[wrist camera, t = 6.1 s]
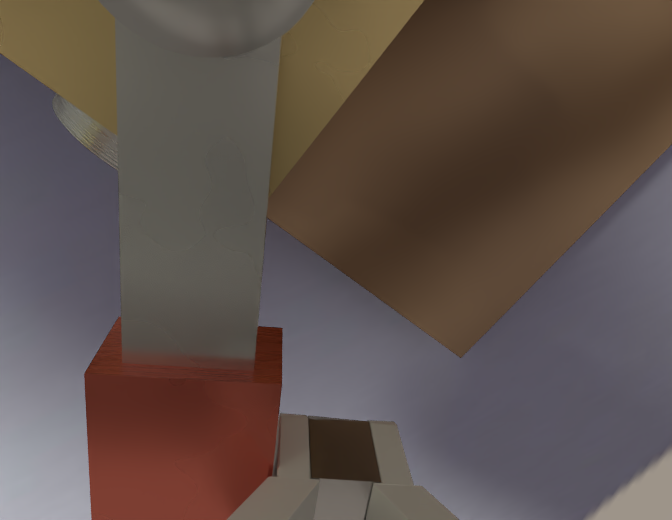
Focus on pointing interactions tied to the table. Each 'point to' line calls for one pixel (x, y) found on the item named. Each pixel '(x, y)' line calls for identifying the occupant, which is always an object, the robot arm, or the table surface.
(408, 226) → the base board
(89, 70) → the pipe manifold
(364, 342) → the table surface
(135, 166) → the valve lever
